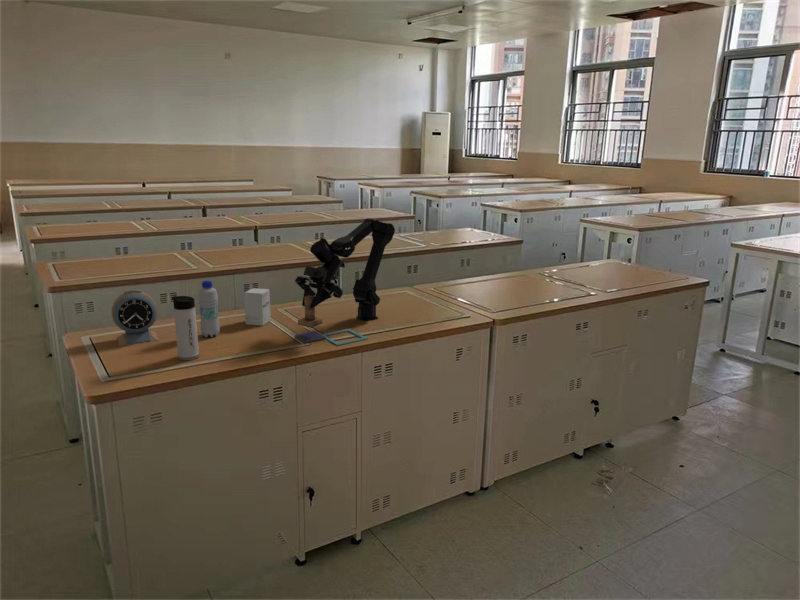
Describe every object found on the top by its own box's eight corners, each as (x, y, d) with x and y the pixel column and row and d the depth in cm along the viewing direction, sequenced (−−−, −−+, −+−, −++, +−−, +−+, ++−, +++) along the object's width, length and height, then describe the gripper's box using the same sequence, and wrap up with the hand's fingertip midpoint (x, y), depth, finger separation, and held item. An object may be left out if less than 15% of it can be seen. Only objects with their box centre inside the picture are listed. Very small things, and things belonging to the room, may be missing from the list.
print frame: (349, 329, 210) (349, 328, 210) (367, 339, 201) (367, 338, 201) (319, 336, 203) (319, 334, 203) (337, 345, 193) (337, 344, 193)
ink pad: (315, 333, 206) (315, 330, 206) (325, 339, 200) (325, 336, 200) (295, 337, 201) (294, 334, 201) (305, 343, 195) (305, 340, 195)
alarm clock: (115, 346, 189) (109, 295, 184) (114, 337, 197) (108, 288, 193) (161, 340, 196) (156, 290, 191) (158, 332, 204) (154, 284, 199)
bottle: (224, 333, 203) (220, 279, 198) (212, 339, 197) (208, 283, 192) (208, 331, 206) (204, 277, 200) (196, 337, 199) (192, 281, 194)
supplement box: (263, 326, 213) (261, 293, 209) (245, 324, 214) (243, 292, 211) (271, 320, 220) (270, 288, 216) (253, 319, 221) (252, 287, 218)
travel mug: (180, 353, 184) (175, 294, 178) (201, 353, 184) (196, 294, 179) (174, 361, 178) (168, 299, 172) (196, 360, 178) (191, 299, 173)
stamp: (309, 320, 203) (309, 292, 201) (322, 323, 200) (321, 295, 197) (298, 324, 199) (297, 295, 196) (310, 327, 195) (309, 298, 193)
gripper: (297, 253, 201) (275, 289, 196) (336, 260, 191) (314, 299, 185) (314, 271, 210) (293, 306, 204) (352, 279, 199) (331, 316, 193)
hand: (306, 306), depth 197 cm, fingers closed on stamp, 3 cm apart
